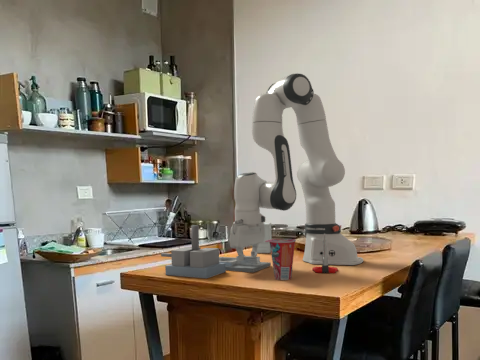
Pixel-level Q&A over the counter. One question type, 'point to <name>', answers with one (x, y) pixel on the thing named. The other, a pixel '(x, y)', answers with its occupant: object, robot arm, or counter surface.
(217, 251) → the vise
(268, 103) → the robot arm
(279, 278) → the cup
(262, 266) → the mat
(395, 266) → the counter surface
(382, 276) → the counter surface
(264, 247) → the supplement box
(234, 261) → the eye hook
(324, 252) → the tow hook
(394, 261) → the counter surface
